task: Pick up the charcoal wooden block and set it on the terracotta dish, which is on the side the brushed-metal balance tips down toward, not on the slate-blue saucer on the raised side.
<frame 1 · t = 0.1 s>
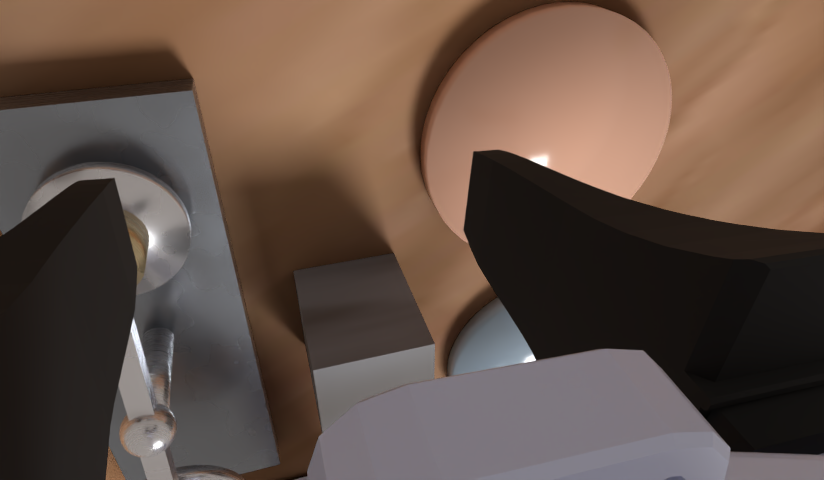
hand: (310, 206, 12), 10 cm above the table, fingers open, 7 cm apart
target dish: (542, 137, 25), on the table
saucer: (531, 348, 32), on the table
block: (348, 300, 27), on the table
balance: (160, 319, 24), on the table
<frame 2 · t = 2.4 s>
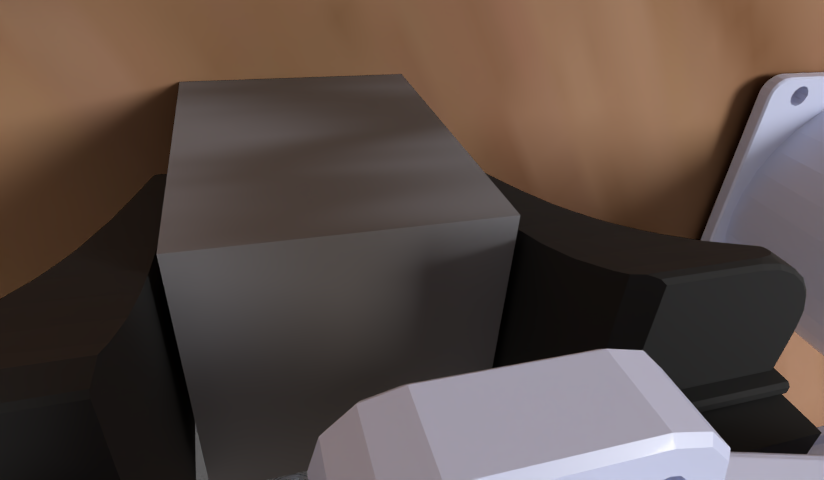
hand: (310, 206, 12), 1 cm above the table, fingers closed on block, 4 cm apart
block: (301, 175, 13), on the table, touching gripper
balance: (281, 418, 17), on the table
when the fingers open (4 cm above the table, at t = 6.1 s): block drops 2 cm, resting on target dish.
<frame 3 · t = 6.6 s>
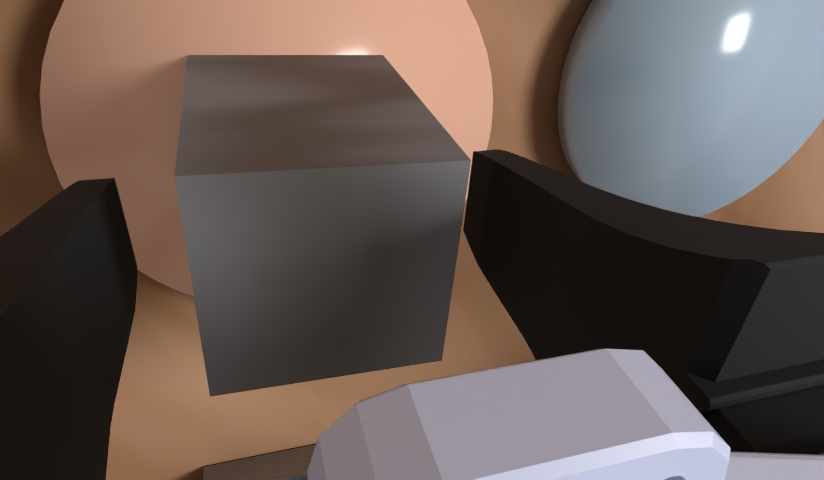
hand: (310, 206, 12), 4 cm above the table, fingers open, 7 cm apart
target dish: (287, 125, 15), on the table
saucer: (700, 72, 18), on the table
block: (293, 143, 15), point 1 cm above the table, touching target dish
balance: (444, 467, 26), on the table
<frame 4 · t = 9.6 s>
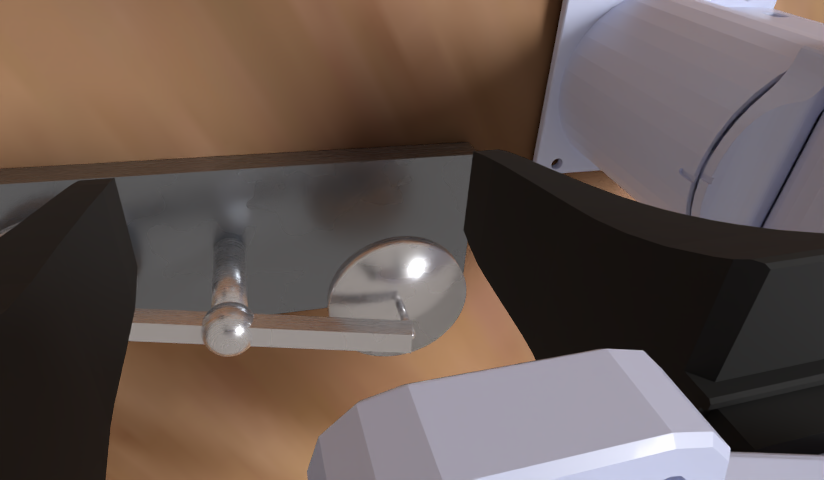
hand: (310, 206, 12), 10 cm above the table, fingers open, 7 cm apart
balance: (229, 234, 24), on the table
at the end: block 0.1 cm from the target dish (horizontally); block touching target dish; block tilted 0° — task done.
